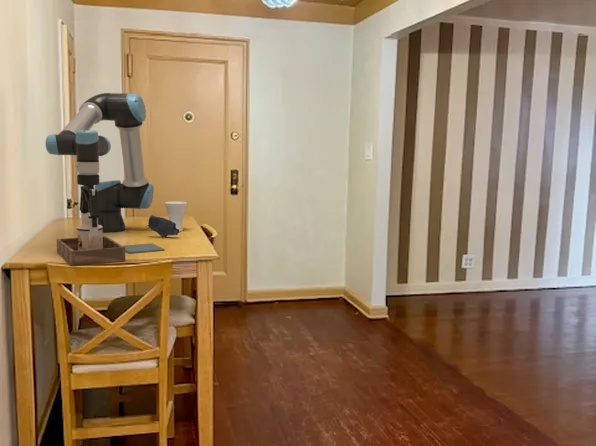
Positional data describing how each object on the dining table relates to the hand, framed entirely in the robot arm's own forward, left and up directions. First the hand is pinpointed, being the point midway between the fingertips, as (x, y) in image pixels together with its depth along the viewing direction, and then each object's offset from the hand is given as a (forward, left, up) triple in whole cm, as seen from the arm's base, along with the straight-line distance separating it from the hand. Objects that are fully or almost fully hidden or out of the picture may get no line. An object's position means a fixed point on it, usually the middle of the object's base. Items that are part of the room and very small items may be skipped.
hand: (89, 233), depth 204 cm
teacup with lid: (0, 0, -7) cm, 7 cm away
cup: (-43, +50, -9) cm, 66 cm away
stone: (-27, +38, -9) cm, 47 cm away
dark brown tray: (0, 0, -9) cm, 9 cm away
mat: (-6, +21, -9) cm, 23 cm away
